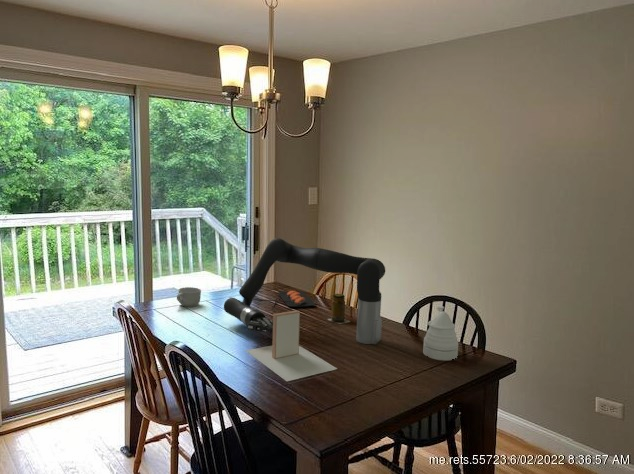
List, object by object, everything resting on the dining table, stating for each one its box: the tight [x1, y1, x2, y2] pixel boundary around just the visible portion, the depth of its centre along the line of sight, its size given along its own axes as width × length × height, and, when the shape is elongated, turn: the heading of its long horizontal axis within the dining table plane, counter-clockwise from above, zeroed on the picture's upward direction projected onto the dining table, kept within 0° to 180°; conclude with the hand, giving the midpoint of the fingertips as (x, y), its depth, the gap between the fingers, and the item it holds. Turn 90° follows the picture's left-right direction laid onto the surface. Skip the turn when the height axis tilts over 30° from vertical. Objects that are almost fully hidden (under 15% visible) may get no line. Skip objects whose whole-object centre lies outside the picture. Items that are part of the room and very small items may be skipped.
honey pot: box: [422, 305, 460, 361], centre depth 182 cm, size 13×13×18 cm
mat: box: [245, 344, 338, 385], centre depth 170 cm, size 30×20×1 cm, turn 34°
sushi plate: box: [252, 290, 316, 310], centre depth 248 cm, size 29×30×4 cm
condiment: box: [327, 293, 352, 325], centre depth 218 cm, size 7×8×12 cm
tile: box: [271, 310, 301, 359], centre depth 172 cm, size 2×10×16 cm, turn 124°
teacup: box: [176, 286, 202, 308], centre depth 234 cm, size 14×11×8 cm
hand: (273, 330), depth 180 cm, fingers closed
